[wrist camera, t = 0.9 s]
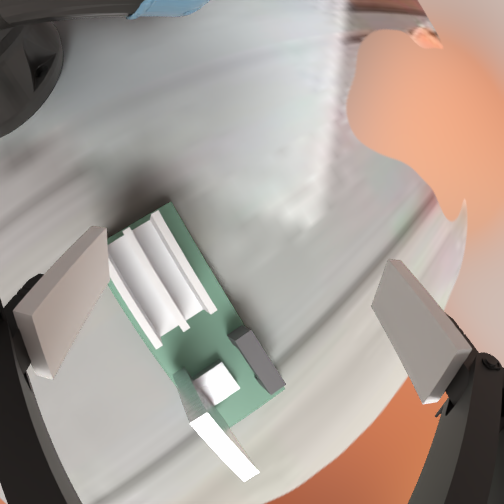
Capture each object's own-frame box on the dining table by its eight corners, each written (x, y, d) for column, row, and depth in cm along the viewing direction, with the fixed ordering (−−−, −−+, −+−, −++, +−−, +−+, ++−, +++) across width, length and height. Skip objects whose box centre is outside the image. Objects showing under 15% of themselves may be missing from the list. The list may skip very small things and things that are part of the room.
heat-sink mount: (91, 251, 25) (69, 244, 17) (169, 204, 28) (182, 178, 19) (213, 429, 28) (241, 479, 19) (278, 383, 30) (325, 418, 22)
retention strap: (171, 370, 25) (189, 423, 16) (209, 345, 27) (247, 385, 17) (209, 419, 26) (244, 481, 17) (245, 396, 27) (294, 447, 18)
